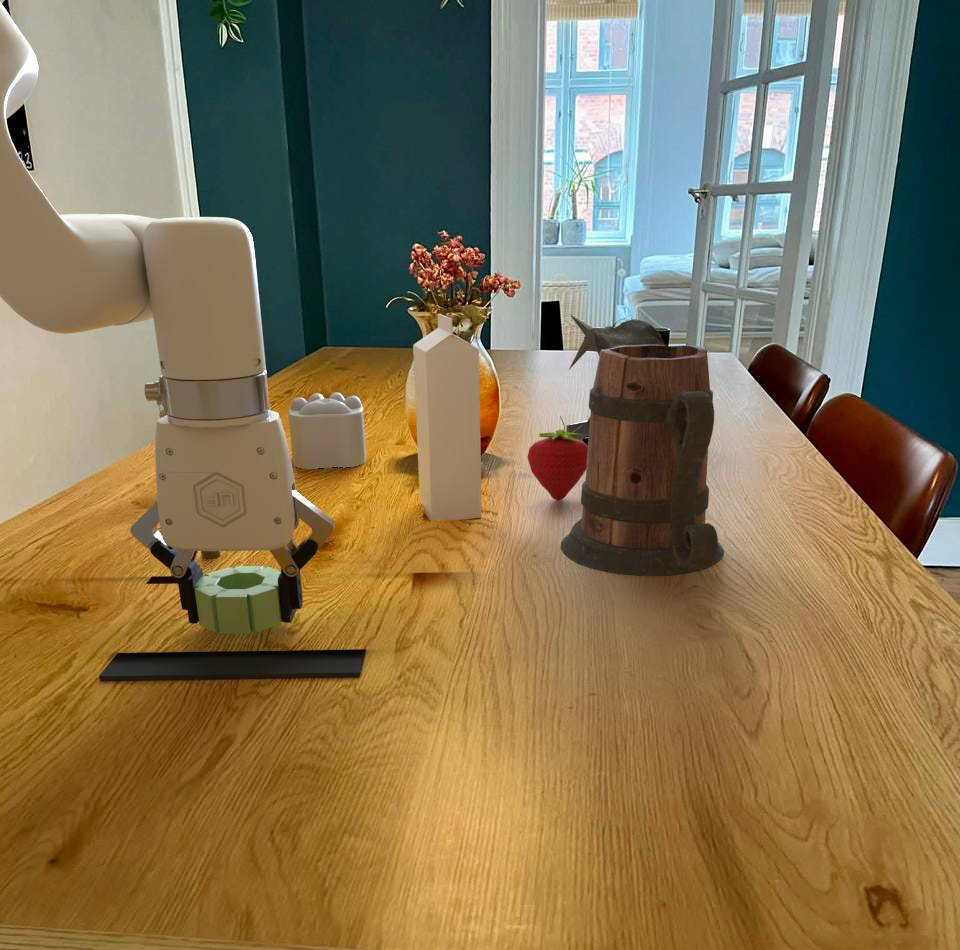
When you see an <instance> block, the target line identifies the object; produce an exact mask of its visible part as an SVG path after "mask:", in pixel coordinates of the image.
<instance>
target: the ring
mask: <svg viewBox="0 0 960 950" xmlns="http://www.w3.org/2000/svg"><path fill="white" fill-rule="evenodd" d="M280 573H281V570H280V571H279V570H277V569H275V568H273V567H270V566H267V567H265V566H264V565H235V566H234V567H231V566H229V567H225V568H222V569H221V568H220V569H218V570H215V571H211V572H208V573H205V574H204V575H203V576H202V577H201V578H200V579H199V581H198V582H197V584H196V585H195V596H196V603H197V610H198V617H199V622H198V625H199V626H201V627H202V628H204V629H206V630H207V631H210V632H211V633H213V634H217V633H219V634H220V635H251V633H252V632H254V633H256V634H257V633H260V632H263V631H265V630H268V629H272V628H275V627H277V626H280V625H281V624H282V623H285V622H284V621H282V617H281V607H280V598H279V588H278V577H279V575H280Z"/></svg>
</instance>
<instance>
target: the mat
mask: <svg viewBox="0 0 960 950" xmlns="http://www.w3.org/2000/svg"><path fill="white" fill-rule="evenodd" d="M366 653H367V649H366V648H357V649H355V648H354V649H351V648H350V649H289V650H287V649H286V650H285V649H284V650H279V649H278V650H217V651H216V650H215V651H214V650H211V651H210V650H209V651H151V652H150V651H149V652H148V651H145V652H144V651H143V652H139V651H138V652H117V653H116V654H115V655H114V657H112V658H111V660H110V661H109V663H108V664H107V665H106V667H105V668H104V669H103V670H102V672H101V673H100V674H99V675H98V678H99V682H101V681H103V682H104V681H165V680H166V681H167V680H168V681H169V680H170V681H171V680H172V681H173V680H176V681H177V680H232V679H233V680H238V679H241V680H242V679H243V680H244V679H301V678H302V679H307V678H309V679H311V678H318V679H319V678H360V677H361V674H362V668H363V664H364V661H365V657H366Z"/></svg>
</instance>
